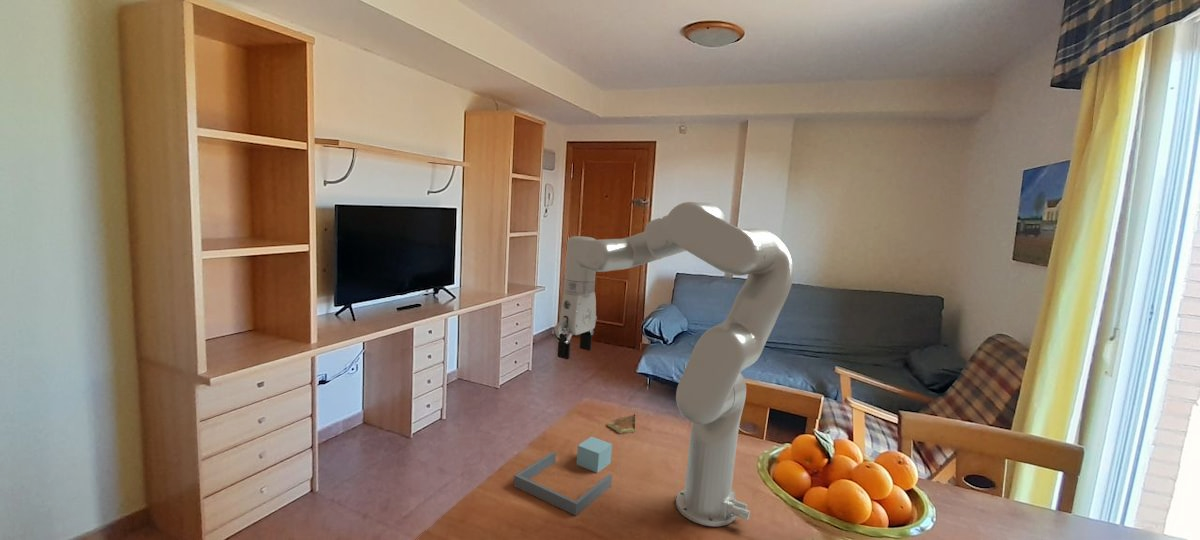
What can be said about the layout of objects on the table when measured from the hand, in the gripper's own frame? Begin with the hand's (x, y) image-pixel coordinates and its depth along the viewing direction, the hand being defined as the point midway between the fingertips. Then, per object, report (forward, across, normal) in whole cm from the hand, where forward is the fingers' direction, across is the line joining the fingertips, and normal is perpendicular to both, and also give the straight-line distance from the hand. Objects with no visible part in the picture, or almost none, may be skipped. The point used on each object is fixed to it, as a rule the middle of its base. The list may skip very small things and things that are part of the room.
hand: (574, 353), depth 126 cm
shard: (+25, +20, -5) cm, 32 cm away
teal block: (+25, -4, -10) cm, 27 cm away
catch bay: (+24, -16, -10) cm, 31 cm away
